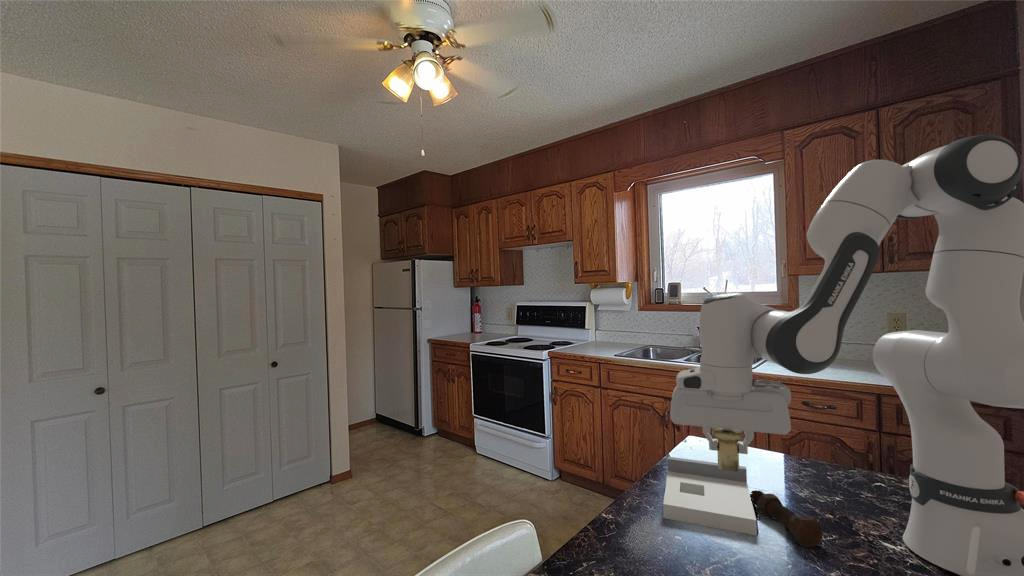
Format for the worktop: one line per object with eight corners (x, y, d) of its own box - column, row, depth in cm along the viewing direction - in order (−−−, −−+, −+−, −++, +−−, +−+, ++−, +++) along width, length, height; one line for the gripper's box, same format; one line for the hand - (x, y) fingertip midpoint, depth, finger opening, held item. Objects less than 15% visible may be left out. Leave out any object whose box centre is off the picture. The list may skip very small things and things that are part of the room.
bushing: (742, 464, 81) (741, 427, 81) (745, 475, 76) (744, 436, 76) (712, 460, 83) (711, 424, 83) (713, 471, 78) (712, 433, 78)
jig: (746, 492, 97) (745, 466, 97) (756, 535, 81) (756, 504, 81) (668, 480, 104) (667, 456, 104) (663, 518, 87) (662, 489, 87)
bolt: (759, 513, 92) (815, 554, 77) (740, 503, 91) (792, 542, 76) (770, 489, 92) (828, 525, 77) (751, 479, 92) (805, 513, 77)
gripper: (787, 378, 78) (788, 452, 78) (670, 372, 86) (672, 439, 86) (794, 386, 72) (796, 465, 72) (668, 378, 80) (670, 450, 80)
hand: (727, 451), depth 79 cm, fingers closed on bushing, 4 cm apart
